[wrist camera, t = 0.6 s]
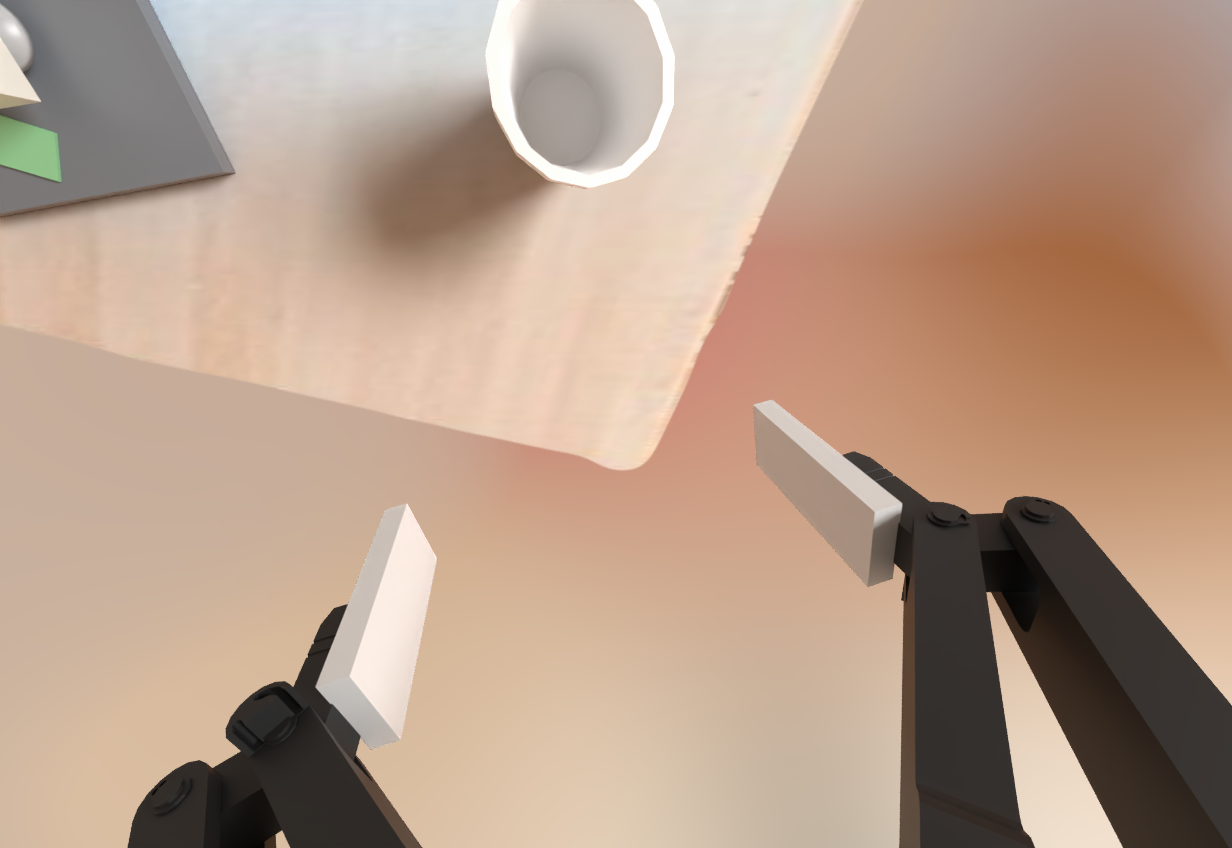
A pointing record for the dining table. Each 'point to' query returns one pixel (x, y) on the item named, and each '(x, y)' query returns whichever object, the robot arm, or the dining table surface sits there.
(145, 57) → the base
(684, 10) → the dining table surface
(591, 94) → the foam cup
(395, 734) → the robot arm
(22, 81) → the cream angular block
